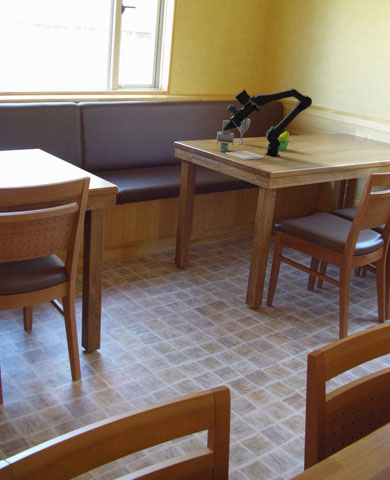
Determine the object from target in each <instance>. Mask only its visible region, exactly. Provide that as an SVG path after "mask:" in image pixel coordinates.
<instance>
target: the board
mask: <svg viewBox="0 0 390 480" xmlns="http://www.w3.org/2000/svg"><path fill="white" fill-rule="evenodd" d="M225 155H226V156H229V157H233V158H237V159H240V160H244V161H245V160H256V159H257V160H258V159H264V158H265V156H264V155H261V154H257V153H254V152H250V151H248V150H241V151H230V152H225Z"/></svg>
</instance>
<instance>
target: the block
mask: <svg viewBox="0 0 390 480" xmlns="http://www.w3.org/2000/svg"><path fill="white" fill-rule="evenodd" d="M219 151H220V152H225V153H226V152H228V151H229V143H228V142H220V149H219Z"/></svg>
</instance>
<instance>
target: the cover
mask: <svg viewBox="0 0 390 480" xmlns="http://www.w3.org/2000/svg"><path fill="white" fill-rule="evenodd" d="M229 122H230V121H229V120H226V119H225V120H223V121H222V130H221V131H217V134H216V144H217V145H218V144H219V142H220V143H228V144H229V143H230V144H231V146H233V145H234V141H235V140H234V139H235V134H234V132H231V129H229V130H226V131H224V130H223V129H224V128H225V127H226V126H227V124H228V123H229Z"/></svg>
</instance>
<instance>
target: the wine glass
mask: <svg viewBox="0 0 390 480" xmlns="http://www.w3.org/2000/svg"><path fill="white" fill-rule="evenodd" d="M250 124H251V118H246V119H244V120H243V121H242V123H241V126H240V127H239V128H238V127H237V129H238V131H239V133H240V141H236V142H234V143H235V145H241V146H243V145H245V146H246V145H247V143H245V142H243V136H244V133H245V132H246V131H247V130H248V129H249V127H250Z"/></svg>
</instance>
